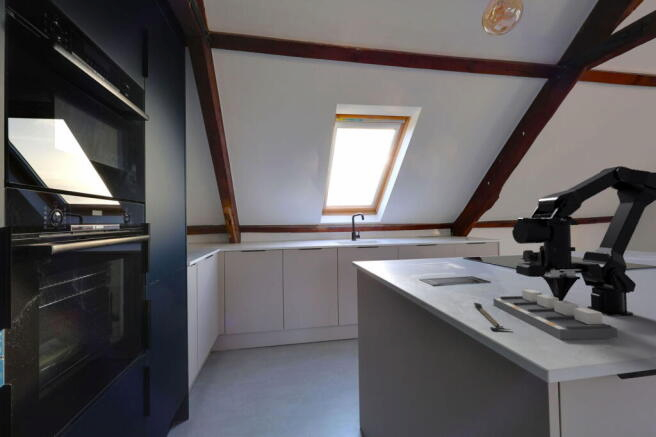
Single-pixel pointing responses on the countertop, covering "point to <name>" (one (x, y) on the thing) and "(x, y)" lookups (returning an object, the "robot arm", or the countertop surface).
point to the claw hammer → (490, 319)
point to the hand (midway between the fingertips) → (558, 302)
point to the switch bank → (553, 320)
